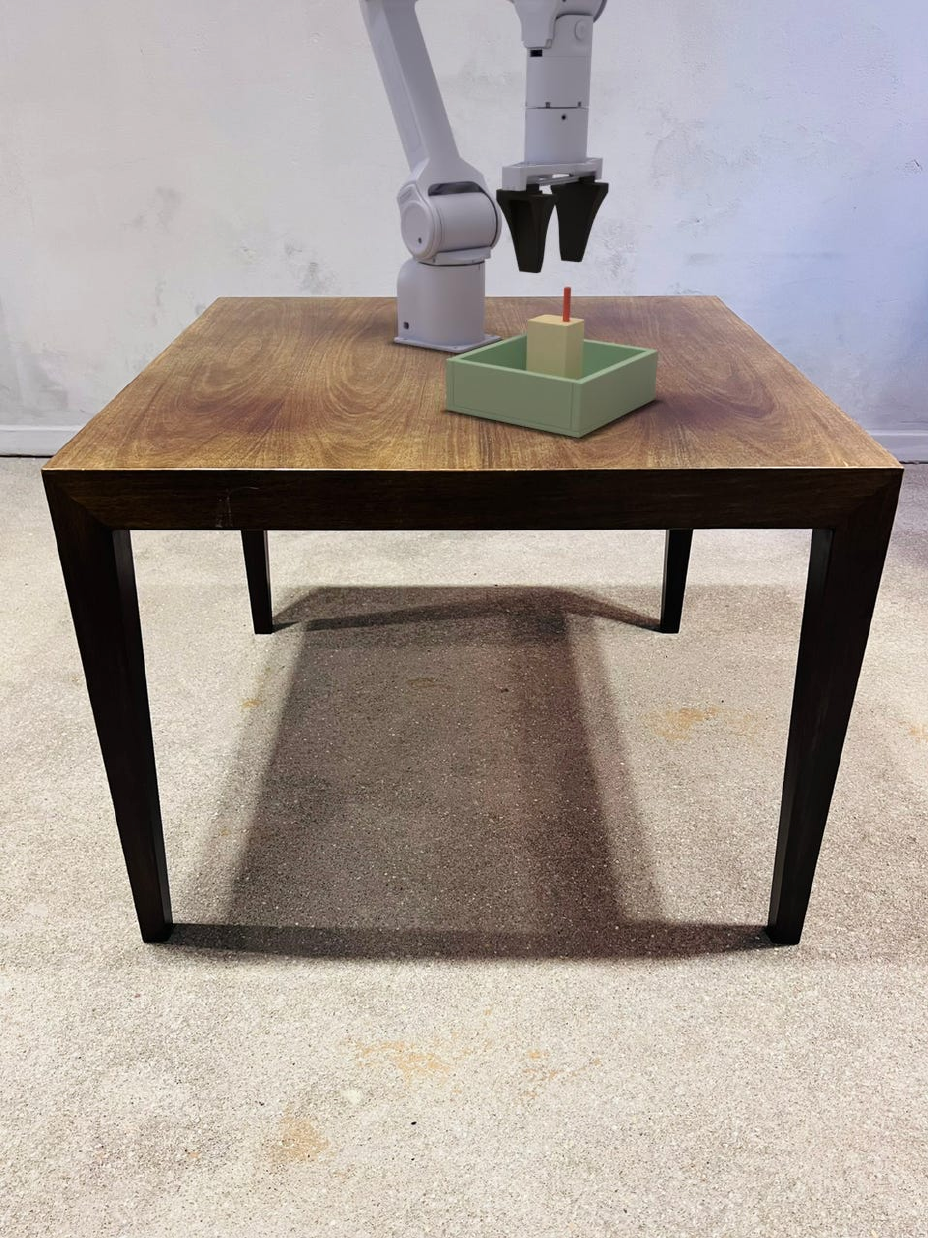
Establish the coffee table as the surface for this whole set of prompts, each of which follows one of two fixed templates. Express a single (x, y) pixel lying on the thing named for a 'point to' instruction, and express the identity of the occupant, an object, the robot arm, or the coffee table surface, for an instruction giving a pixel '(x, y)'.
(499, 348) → the bin
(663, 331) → the coffee table surface
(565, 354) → the juice box
